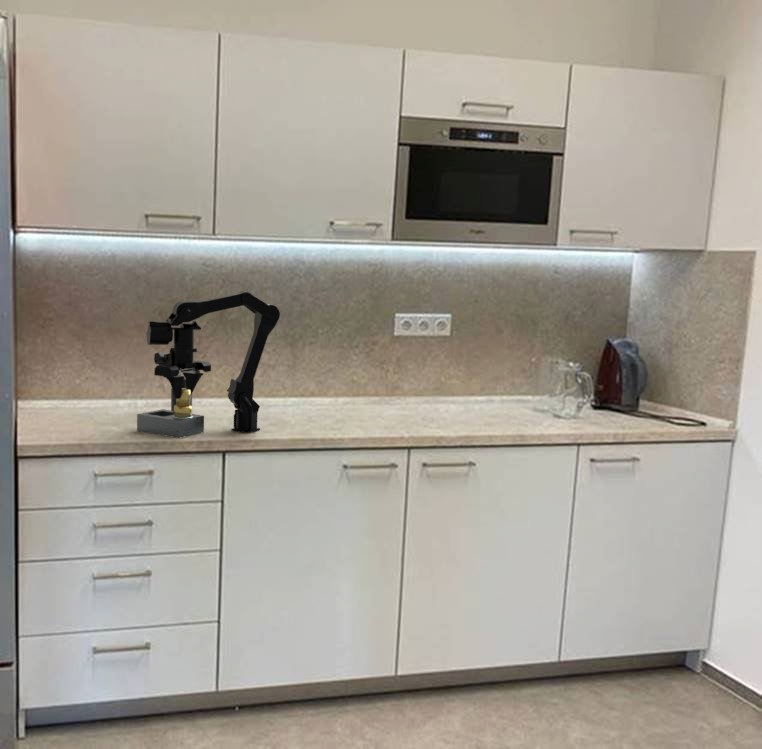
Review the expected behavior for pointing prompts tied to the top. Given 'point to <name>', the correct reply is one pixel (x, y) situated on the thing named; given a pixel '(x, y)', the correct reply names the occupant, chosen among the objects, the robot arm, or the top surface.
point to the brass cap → (183, 404)
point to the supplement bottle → (173, 399)
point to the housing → (169, 423)
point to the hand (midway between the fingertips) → (183, 397)
